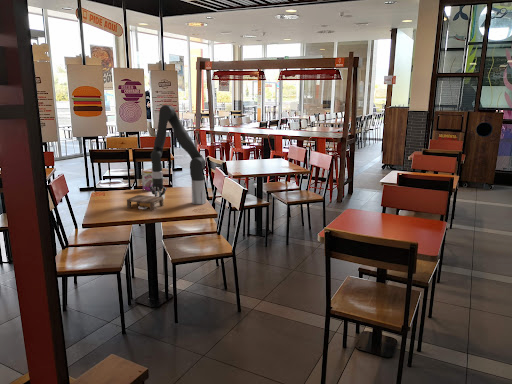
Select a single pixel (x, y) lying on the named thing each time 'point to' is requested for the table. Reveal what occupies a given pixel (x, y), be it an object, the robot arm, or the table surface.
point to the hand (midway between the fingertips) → (158, 200)
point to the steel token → (142, 207)
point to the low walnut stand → (145, 201)
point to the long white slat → (149, 203)
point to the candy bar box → (147, 179)
